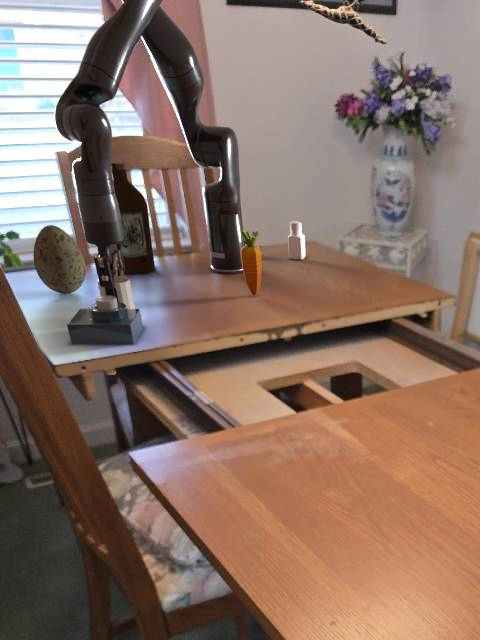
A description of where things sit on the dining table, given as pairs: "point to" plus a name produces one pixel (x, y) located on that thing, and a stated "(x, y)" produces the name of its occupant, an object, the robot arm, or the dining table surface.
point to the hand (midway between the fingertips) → (117, 300)
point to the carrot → (251, 262)
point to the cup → (121, 291)
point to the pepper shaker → (296, 241)
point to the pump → (106, 302)
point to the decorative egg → (58, 260)
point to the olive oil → (133, 223)
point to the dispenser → (105, 326)
